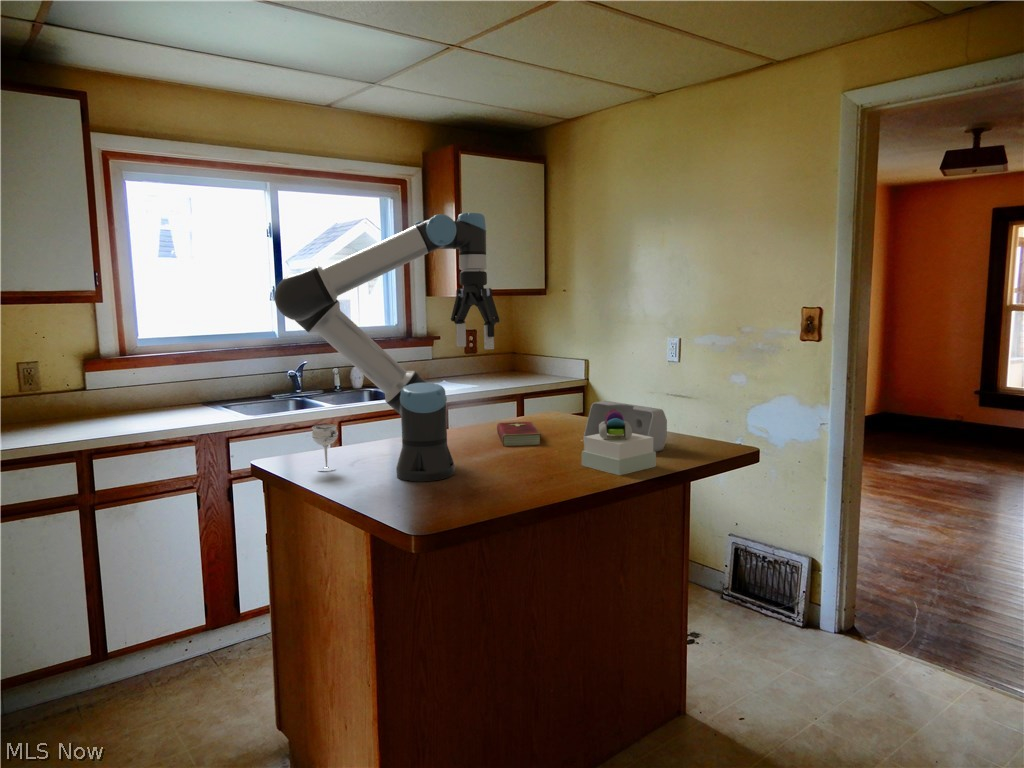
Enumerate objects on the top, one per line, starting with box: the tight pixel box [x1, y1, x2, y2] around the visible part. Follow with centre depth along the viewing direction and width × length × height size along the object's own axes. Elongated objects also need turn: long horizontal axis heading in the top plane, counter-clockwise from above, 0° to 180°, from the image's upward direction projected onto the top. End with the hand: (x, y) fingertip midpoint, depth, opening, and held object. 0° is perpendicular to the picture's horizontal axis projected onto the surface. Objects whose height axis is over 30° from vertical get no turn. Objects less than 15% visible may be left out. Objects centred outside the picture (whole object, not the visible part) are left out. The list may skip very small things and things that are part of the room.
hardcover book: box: [496, 421, 542, 447], centre depth 225 cm, size 12×21×4 cm, turn 6°
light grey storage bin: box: [582, 400, 668, 453], centre depth 213 cm, size 25×16×12 cm, turn 39°
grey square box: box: [581, 433, 657, 476], centre depth 187 cm, size 14×14×8 cm
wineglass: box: [311, 423, 339, 468], centre depth 188 cm, size 7×7×12 cm
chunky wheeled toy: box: [599, 410, 632, 439], centre depth 186 cm, size 8×10×7 cm
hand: (474, 348), depth 194 cm, fingers open, 13 cm apart
